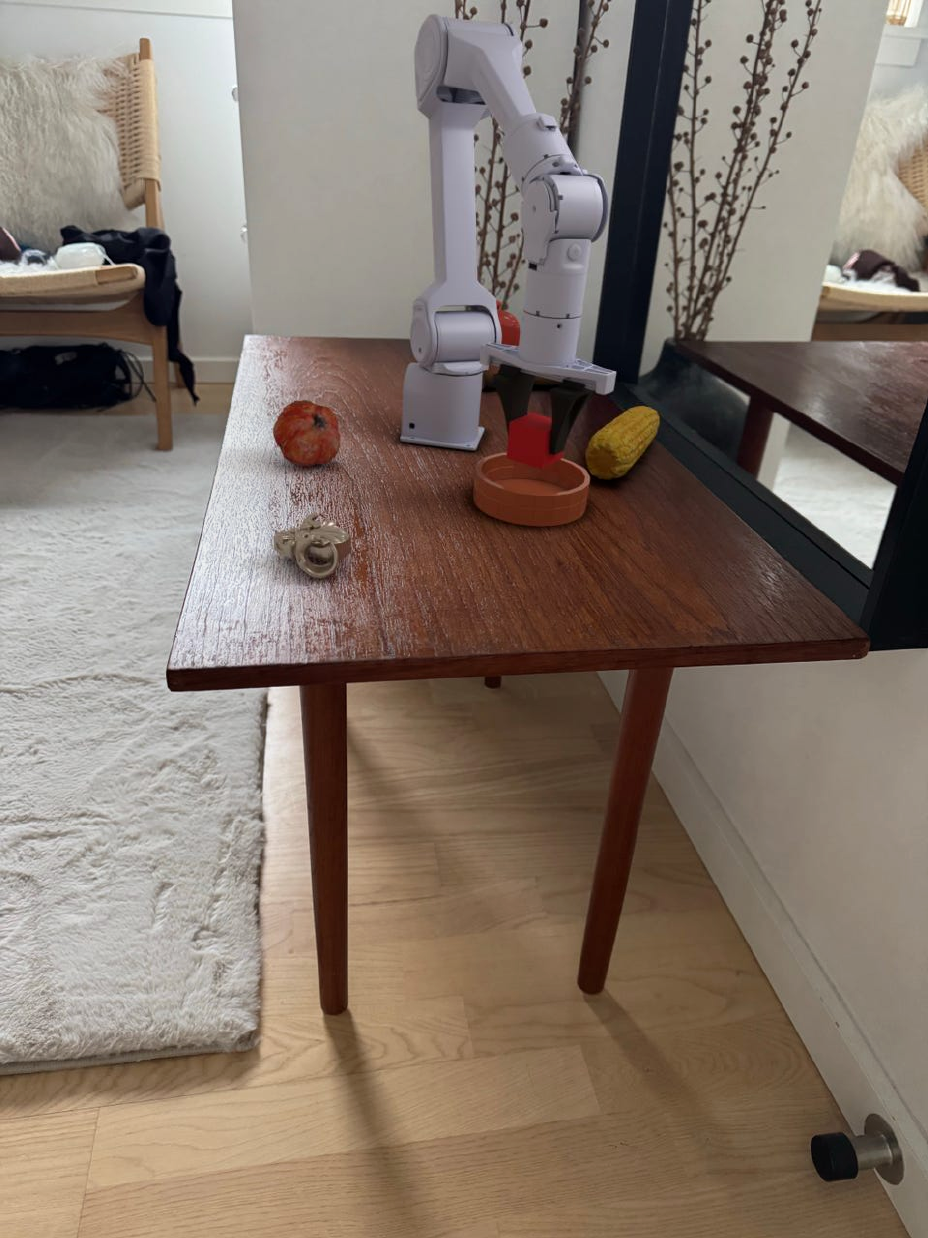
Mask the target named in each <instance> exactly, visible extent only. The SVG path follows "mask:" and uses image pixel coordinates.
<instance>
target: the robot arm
mask: <svg viewBox="0 0 928 1238" xmlns="http://www.w3.org/2000/svg"><path fill="white" fill-rule="evenodd" d="M416 38H417V39H416V41H415V42H416V43H415V45H414V51H413V61H414V62H413V63H414V86H415V97H416V108H417V110H418V112H420V114H422V115H424V116H425V118H427V119H428V141H429V143H428V144H429V145H428V146H429V167H430V168H429V170H430V171H429V172H430V195H431V197H430V198H431V219H432V220H431V221H432V246H433V270H434V271H433V272H434V280H433V281H432V282H431V284H429V285H428V286H427V287H426V288H425V289H423V291H422V292H420V293H419V294H418V295H417V296H416V297H415V298H414V300H413V301H412V316H411V317H412V318H411V323H410V329H409V343H410V344H409V345H410V348H411V353H412V355H413V358H414V360H416V361H417V362H409V363H408V365H407V367H406V371H405V374H404V381H403V388H402V389H403V391H402V410H401V411H402V412H401V413H402V414H401V436H400V438H399V439H400V440H399V441H401V442H403V443H409V444H410V443H411V444H419V445H426V446H434V447H442V448H449V449H456V450H457V449H458V450H464V451H472V452H473V451H476V450H477V449H478V446H479V444H480V442H481V440H482V437H483V435H484V433H485V427H484V426H479V425H480V413H481V412H480V411H481V401H482V391H483V389H482V378H483V371H485V370H489V365H491V364H492V365H496V366H500V368H499V370H498V373H497V374H494V375H493V377H492V383H493V385H494V387H493V388H495V391H496V393H497V396H498V398H499V400H500V401H499V402H500V403H501V407H502V410H503V414H504V419H505V425H506V433H507V437H508V436H509V426H510V422H511V421H513V420H515V419H518V418H520V417H522V416H525V415H527V414H528V410H529V403H530V398H531V395H532V390H533V387H534V385H535V384H534V381H535V378H536V376H539V377H543V378H547V379H551V380H555V381H559V382H562V385H558V386H555V387H553V388H550V390H549V397H550V406H551V418H552V424H551V432H550V439H549V454H552V455H556V454H558V453H560V452H562V451H563V452H564V451H565V448H566V445H567V442H568V439H569V436H570V434H571V431H572V430H573V427H574V425H575V423H576V420H577V419H578V418H579V415H580V413H581V412H582V410H583V408H584V407H585V405H586V404H587V403H588V401H589V400H590V399H591V397H592V396H593V394H594V393H596V394H599V395H602V396H605V395H608V394H610V393H612V392H614V389H615V383H616V378H617V377H616V376H617V371H614V370H611V369H607V368H604V367H601V366H599V365H596V364H593V363H592V362H589V363H588V361H585V360H583V359H581V358H577V350H578V344H579V336H580V328H581V322H582V315H583V308H584V307H583V306H584V299H585V293H586V292H585V291H586V285H587V279H588V278H587V277H588V271H589V264H590V263H589V262H590V255H591V248H592V243H595V242H597V241H598V240H599V239H600V238H601V237H602V235H603V233H604V232H605V230H606V227H607V224H608V220H609V214H610V198H609V192H608V189H607V186H606V185H605V181H604V179H603V177H602V176H600V175H599V174H598V173H597V174H596V173H589V171H588V170H587V169H581V168H580V166H579V164H578V163H577V161H576V158H575V157H574V155H573V153H572V151H571V149H570V147H569V145H568V143H567V141H566V139H565V138H564V136H563V134H562V132H561V130H560V128H559V127H558V126H559V124H558V122H557V120H556V119H555V117H554V116H552V115H549V114H546V113H543V112H537V109H536V107H535V104H534V101H533V99H532V96H531V94H530V91H529V88H528V86H527V83H526V81H525V79H524V76H523V74H522V71H521V70H522V64H523V45H524V44H523V42H522V40H521V39H520V35H519V33H518V31H517V29H516V27H515V26H514V24H512V23H510V22H502V23H498V22H488V21H480V20H474V19H473V20H472V19H465V18H464V19H463V18H455V17H447V16H442V15H440V14H438V13H431V14H429V15H427V17H426V18H425V19H424V21H423V22H422V23H421V26H420V28H419V30H418V34H417V37H416ZM491 116H493V118H494V120H495V121H496V123H497V125H498V126H499V127H500V129H501V131H502V132H503V134H504V136H503V138H502V141H501V147H500V150H501V155H502V159H503V160H504V163H505V164H506V166H507V168H508V171H509V173H510V175H511V177H512V179H513V181H514V183H515V185H516V187H517V189H518V191H519V193H520V195H521V197H522V199H523V201H522V203H520V224H521V228H522V229H521V230H522V233H523V246H522V247H523V248H522V252H523V253H524V254H523V258H524V259H525V260H527V266H526V276H525V284H524V285H525V286H524V295H523V305H522V313H521V314H522V315H521V325H520V330H521V333H520V343H519V347H518V346H511V345H504V344H501V341H502V333H501V326H500V323H499V320H498V315H497V306H496V300H497V298H496V297H495V296H494V295H493V294H492V293H491V292H490V291H489V290H488V289H487V288H485V287H484V286H483V285H482V284H481V283H480V282H479V280H478V252H477V250H478V249H477V245H478V244H477V211H476V170H475V168H476V166H475V129H476V127H477V125H478V123H479V122H480V121H482V120H484V119H486V118H488V117H491ZM443 307H467V308H469V309H467V310H466V309H465V310H462V309H461V310H439V309H441V308H443ZM591 363H592V364H591Z"/></svg>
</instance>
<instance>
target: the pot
mask: <svg viewBox="0 0 928 1238" xmlns="http://www.w3.org/2000/svg"><path fill="white" fill-rule="evenodd" d="M506 456H507V451H505V452H499V453H495V454H491V455H487V456H485V457H484V458H482V459H480V460H479V461H477V464H476V465H475V468H474V479H473V488H472V489H473V490H472V494H473V496H472V497H473V502H474V505H475V506H476V507H477V508H478V509H479V510H480V511H481V512H483V514H486V515H488V516H490V517H492V518H494V519H497V520H500V521H503V522H506V523H510V524H514V525H519V526H527V527H556V526H563V525H567V524H570V523H573V522H575V521H577V520H579V519H580V518H582V516H583V515H584V514H585V511H586V508H587V501H588V495H589V489H590V482H591V476H590V474H589V473H588V471H587V469H585V468H584V467H582V466H581V465H579V464H577V463H576V462H574V461H571V460H568V459H565V458H563V457H562V459H560V460H558V461H556V462H554V463H553V464H551V465H549V466H547V467H545V468H543V469H540V468H536V467H533V466H530V465H527V464H523V463H520V462H517V461H514V460H510V459H507V458H506Z"/></svg>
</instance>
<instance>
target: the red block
mask: <svg viewBox="0 0 928 1238" xmlns="http://www.w3.org/2000/svg"><path fill="white" fill-rule="evenodd" d="M551 424H552V417H549V416H546V415H542V414H538V413H534V412H529V413H527V415H525V416H522V417H520V418H518V419H515V420H513V421H511V422H510V426H509V436H508V435H507V447H506V452H507V456H506V458H507V459H510V460H514V461H517V462H520V463H523V464H527V465H530V466H533V467H536V468H540V469H543V468H545V467H547V466H549V465H551V464H553V463H554V462H556V461H558V460H560V459H562V458H563V456H564V451H562V452H560V453H558V454H556V455H552V454H549V439H550V432H551Z"/></svg>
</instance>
